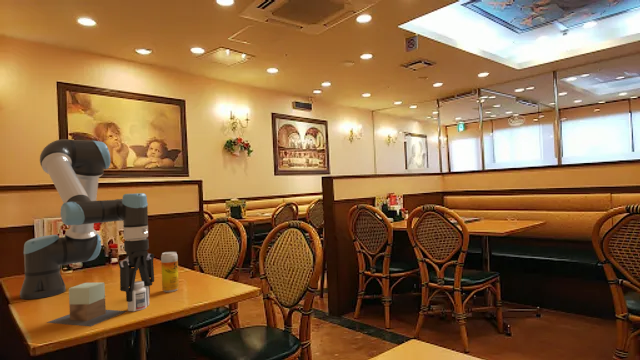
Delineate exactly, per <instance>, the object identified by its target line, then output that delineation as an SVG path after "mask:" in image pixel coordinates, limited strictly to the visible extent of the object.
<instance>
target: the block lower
mask: <svg viewBox="0 0 640 360" xmlns="http://www.w3.org/2000/svg"><path fill="white" fill-rule="evenodd" d="M68 306H69V314H70V320H80V321H88V320H91V319H93V318H96V317H99V316H101V315H104V314H106V310H107V307H106V297H105V298H103V299H101V300H99V301H96V302H94V303H91V304H69V305H68Z"/></svg>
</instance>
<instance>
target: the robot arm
mask: <svg viewBox="0 0 640 360" xmlns="http://www.w3.org/2000/svg"><path fill="white" fill-rule="evenodd" d="M39 163H40V167H41V169H42V170H43V172H44V173H46V174H48V175H49V178H50V179H51V181H52V183H53V185H54V187H55V189H56V191H57V193H58V195H59V198H60V199H61V201H62V205H61V206H60V207H61V208H60V217H61V219H60V220H61V222H62V224H64V225H65V226H70V227H69V229H67V230H65V233H64V234H65V235H64V236H63V237H60V236H59V235H58V234H50V235H44V236H43V235H42V236H39V237H34V238H31V239H28V240H27V241H25V242H24V245H23V252H22V253H23V258H24V261H23V262H24V265H23V266H24V279H23V283H22V285H21V288H20V291H19V298H20V299H22V300H35V299H43V298H48V297H53V296H56V295H61V294H63V293H64V292H66V291H67V290H66V284H65V282H64V278H63V277H62V274H61V269H60V268H61V266H65V265H72V264H79V263H87V262H90V261H93V260H96V259H97V258H98V256H99V255H100V253H101V249H102V243H101V242H102V239H101V236H100V235H99V233H98V232H97V230H95V228H94V227H95V225H94V224H98V223H101V224H102V223H111V222H112V223H113V222H121V221H123V223H122V224H123V239H124V242H123V248H124V249H123V251H124V252H125V253H126V254H125V258H124V259H123V260H119V261H118V266H119V285H120V286H119V290H120V291H121V292H125V296H126V297H125V300H126V302H127V312H136V292H135V291H133V289H134V283H135V282H136V276H137V271H138V272H139V275H140V281H144V286H143V287H144V288H146V299H147V307H148V306H150V294H151V291H150V290H151V289H150V287H151V286H152V285H153V283H154V282H155V272H154V271H155V270H154V269H155V268H154V258H155V254H154V253H149V252H148V250H149V249H150V246H149V245H150V243H149V241H150V240H149V238H148V237H149V223H148V221H149V219H148V218H149V216H148V214H149V213H148V211H149V210H148V208H149V207H148V206H149V205H148V198H147V194H146V193H143V192H140V193H138V192H137V193H125V194H123V195H122V198H117V199H116V198H115V199H105V200H104V199H103V200H97V199H98V198H97V195H98V188H99V181H100V180H99V178H101V176H103V175H104V170H107V169H109V168H110V166H111V154H110V150H109V148H108V146H107V144H106V143H105V142H103V141H99V140H93V139H91V140H90V139H87V140H86V139H68V138H67V139H65V138H62V139H57V140H53V141H51V142H50V143H48V144H47V145H46V146H44V148H43V149H42V151H41V153H40V155H39Z"/></svg>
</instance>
